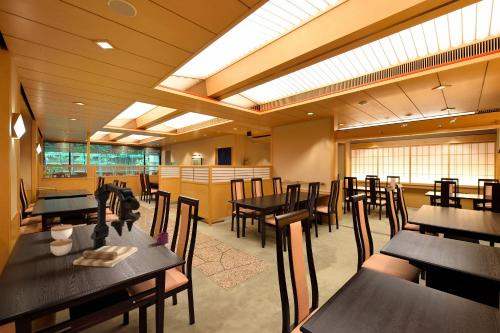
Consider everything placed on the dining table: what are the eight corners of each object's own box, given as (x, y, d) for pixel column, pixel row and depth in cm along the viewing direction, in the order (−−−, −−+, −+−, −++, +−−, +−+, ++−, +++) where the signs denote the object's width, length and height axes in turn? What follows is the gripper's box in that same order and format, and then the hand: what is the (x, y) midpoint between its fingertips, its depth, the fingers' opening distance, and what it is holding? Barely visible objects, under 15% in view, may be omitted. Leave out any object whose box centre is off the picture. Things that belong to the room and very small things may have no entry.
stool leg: (81, 257, 131) (81, 252, 131) (86, 255, 134) (86, 250, 134) (113, 259, 129) (113, 254, 129) (117, 257, 132) (117, 252, 132)
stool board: (73, 264, 128) (73, 260, 128) (104, 248, 152) (104, 245, 152) (111, 266, 125) (111, 262, 125) (137, 250, 149) (137, 247, 149)
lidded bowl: (75, 238, 172) (75, 223, 172) (54, 243, 161) (54, 227, 161) (68, 235, 179) (68, 221, 179) (48, 239, 168) (48, 224, 168)
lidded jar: (73, 253, 143) (73, 238, 143) (51, 258, 135) (51, 243, 135) (70, 249, 150) (70, 235, 150) (49, 253, 142) (49, 238, 142)
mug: (170, 242, 166) (170, 232, 166) (160, 246, 156) (160, 236, 156) (162, 240, 168) (162, 231, 168) (152, 245, 159) (152, 235, 159)
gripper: (128, 212, 130) (128, 239, 130) (145, 206, 149) (145, 229, 149) (110, 211, 131) (110, 238, 131) (129, 205, 149) (129, 229, 150)
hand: (125, 234), depth 140 cm, fingers open, 9 cm apart
